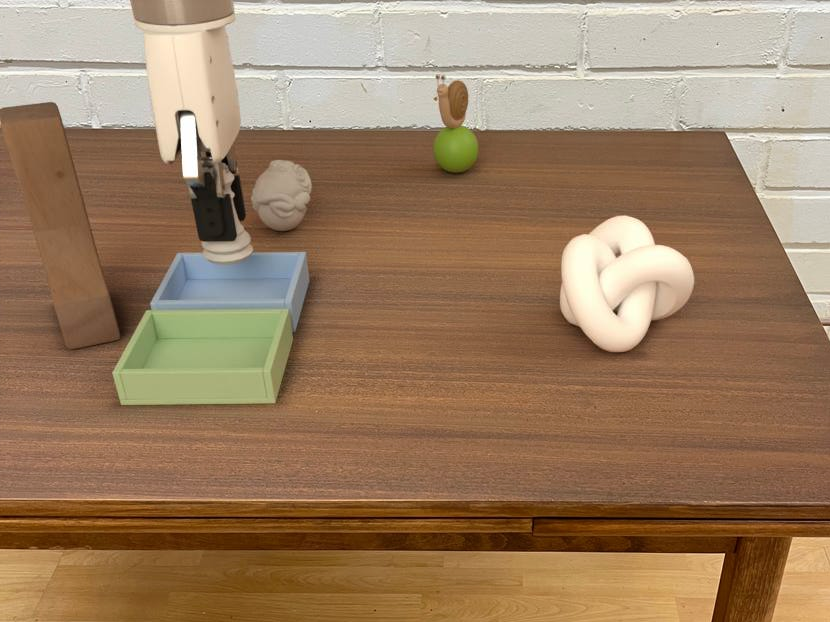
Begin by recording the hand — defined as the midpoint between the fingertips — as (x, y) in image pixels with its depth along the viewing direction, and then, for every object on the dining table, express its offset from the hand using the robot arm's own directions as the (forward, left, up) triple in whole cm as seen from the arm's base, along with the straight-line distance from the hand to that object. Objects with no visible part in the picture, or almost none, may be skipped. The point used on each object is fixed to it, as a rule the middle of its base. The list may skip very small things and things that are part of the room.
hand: (223, 227), depth 84 cm
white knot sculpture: (+34, -4, -8) cm, 35 cm away
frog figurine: (+2, +18, -8) cm, 19 cm away
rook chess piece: (0, 0, -3) cm, 3 cm away
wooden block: (-13, -3, -8) cm, 15 cm away
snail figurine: (+20, +34, -8) cm, 40 cm away
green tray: (0, -11, -8) cm, 14 cm away
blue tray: (0, 0, -8) cm, 8 cm away
